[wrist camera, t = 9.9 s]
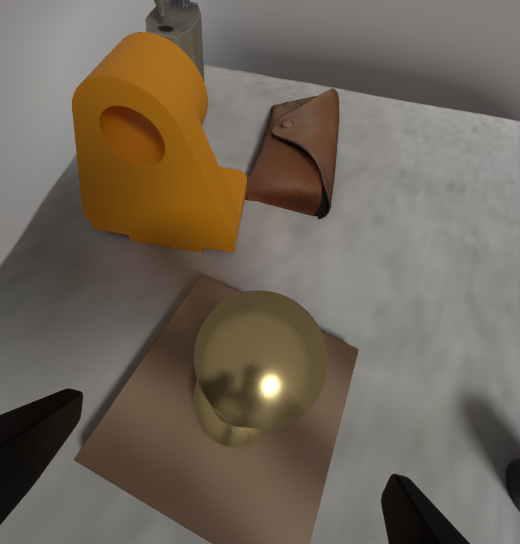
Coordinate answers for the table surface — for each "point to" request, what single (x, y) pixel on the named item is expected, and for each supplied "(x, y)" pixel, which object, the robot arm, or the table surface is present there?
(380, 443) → the table surface
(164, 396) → the board
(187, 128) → the bracket
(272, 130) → the sunglasses case
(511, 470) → the cylinder
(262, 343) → the brass pin
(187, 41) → the padlock
